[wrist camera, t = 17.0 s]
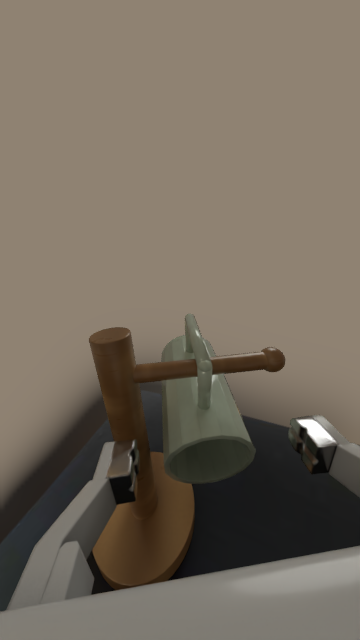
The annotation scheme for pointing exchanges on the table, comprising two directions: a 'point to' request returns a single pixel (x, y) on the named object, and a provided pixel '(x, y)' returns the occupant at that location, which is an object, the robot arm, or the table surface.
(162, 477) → the mug stand
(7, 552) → the table surface
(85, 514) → the robot arm
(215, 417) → the cup
